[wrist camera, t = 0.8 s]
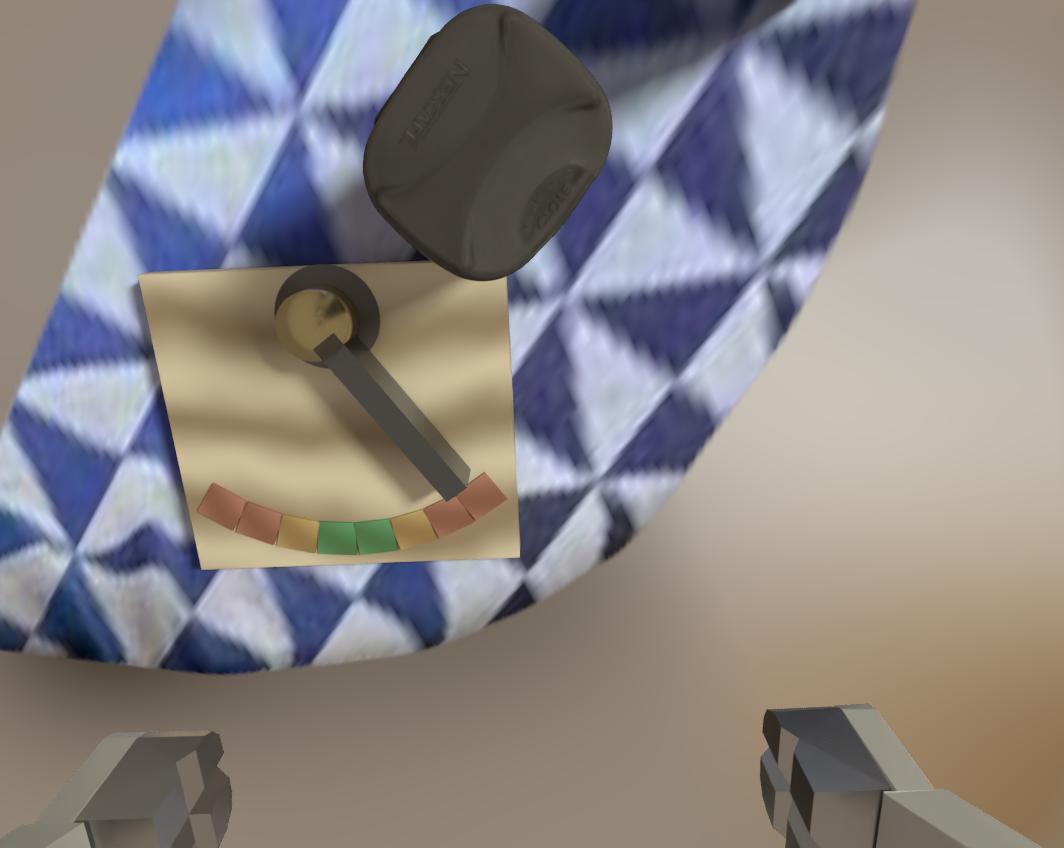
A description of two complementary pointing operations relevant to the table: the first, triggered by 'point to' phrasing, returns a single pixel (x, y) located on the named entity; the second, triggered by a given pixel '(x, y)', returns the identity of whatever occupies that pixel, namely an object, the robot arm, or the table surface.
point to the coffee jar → (487, 143)
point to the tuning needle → (367, 380)
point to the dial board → (335, 416)
